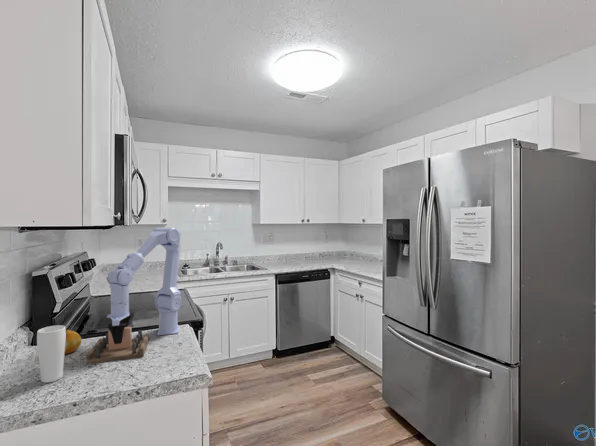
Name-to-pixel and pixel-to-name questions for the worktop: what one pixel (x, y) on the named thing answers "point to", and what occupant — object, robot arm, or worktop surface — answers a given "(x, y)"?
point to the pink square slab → (125, 341)
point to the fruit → (72, 341)
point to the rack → (117, 350)
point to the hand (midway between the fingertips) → (120, 339)
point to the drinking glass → (51, 352)
